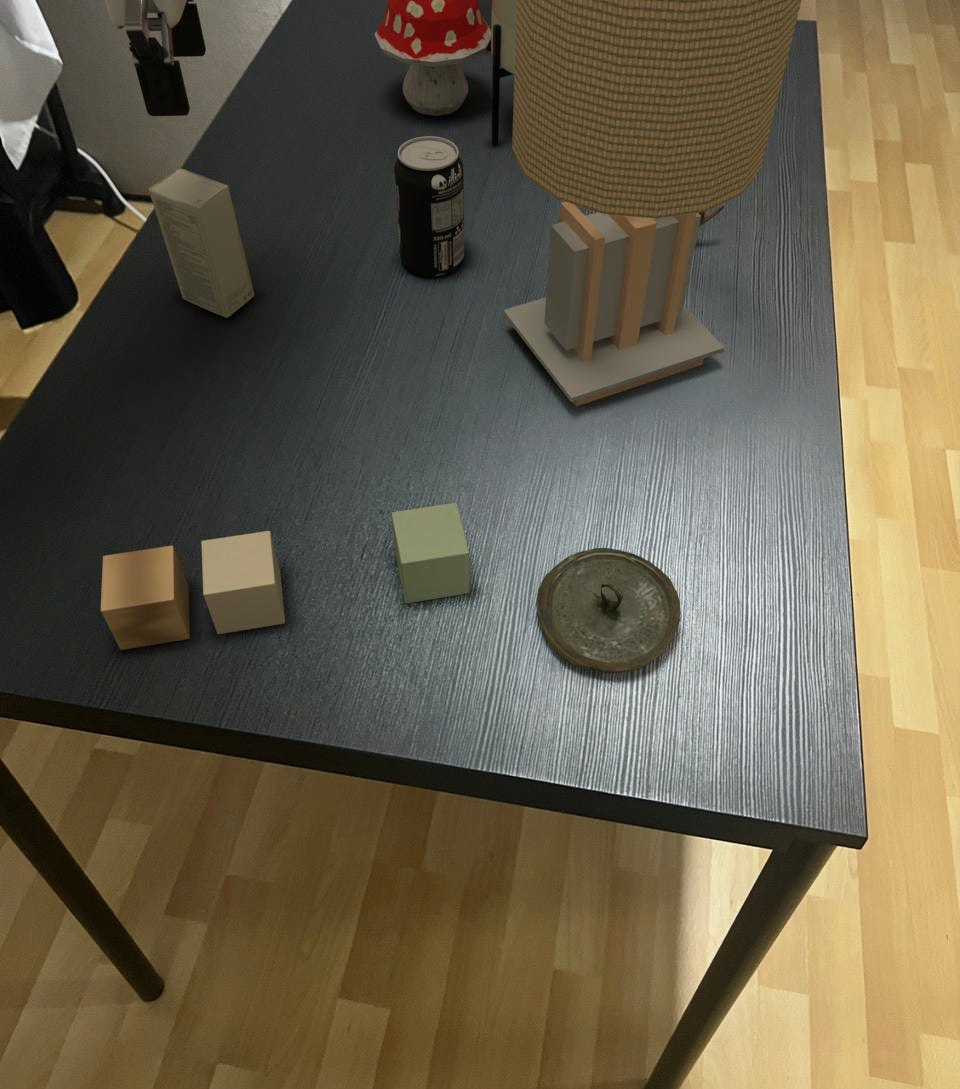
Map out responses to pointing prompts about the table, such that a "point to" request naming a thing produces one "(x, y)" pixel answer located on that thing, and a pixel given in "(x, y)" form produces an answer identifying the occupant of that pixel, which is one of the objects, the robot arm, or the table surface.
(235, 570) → the block
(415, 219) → the beverage can
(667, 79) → the desk lamp
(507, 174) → the table surface
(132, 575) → the block
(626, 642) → the lid
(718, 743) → the table surface
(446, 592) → the block
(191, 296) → the cosmetic box
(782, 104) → the table surface
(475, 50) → the decorative mushroom
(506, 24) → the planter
